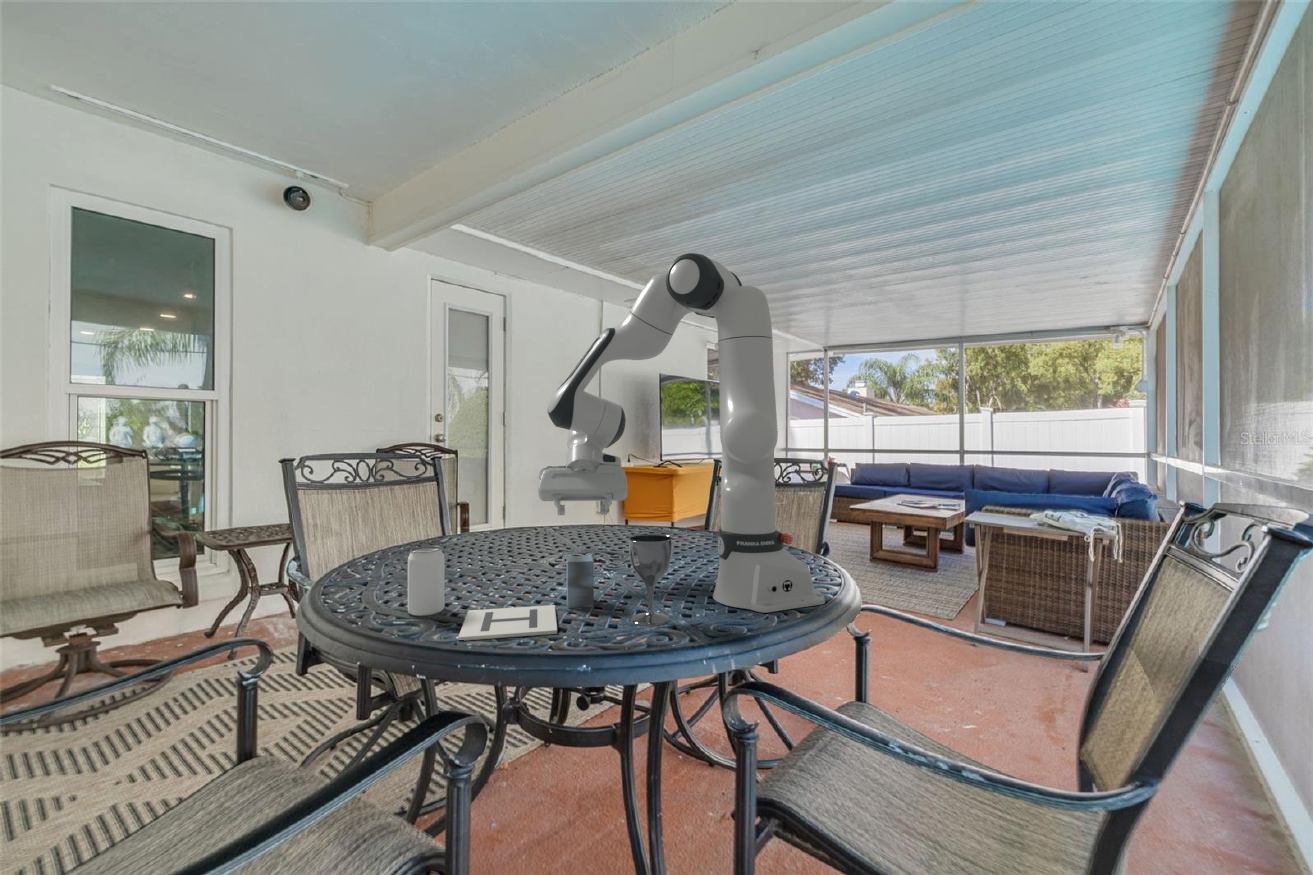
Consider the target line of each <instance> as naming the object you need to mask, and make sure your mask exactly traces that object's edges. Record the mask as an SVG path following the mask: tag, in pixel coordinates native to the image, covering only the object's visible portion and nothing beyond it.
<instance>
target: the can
mask: <svg viewBox="0 0 1313 875" xmlns="http://www.w3.org/2000/svg"><path fill="white" fill-rule="evenodd" d="M442 549H443V548H442V546H439V545H422V546H417V547H413V548H410V552H409V555H408V557H407V612H408V614H409V615H410V616H412V617H429V616H434V615H439V614H440V613H441V612H442V611H443V610H444V609H445V554H444V552H443V550H442Z"/></svg>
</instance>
